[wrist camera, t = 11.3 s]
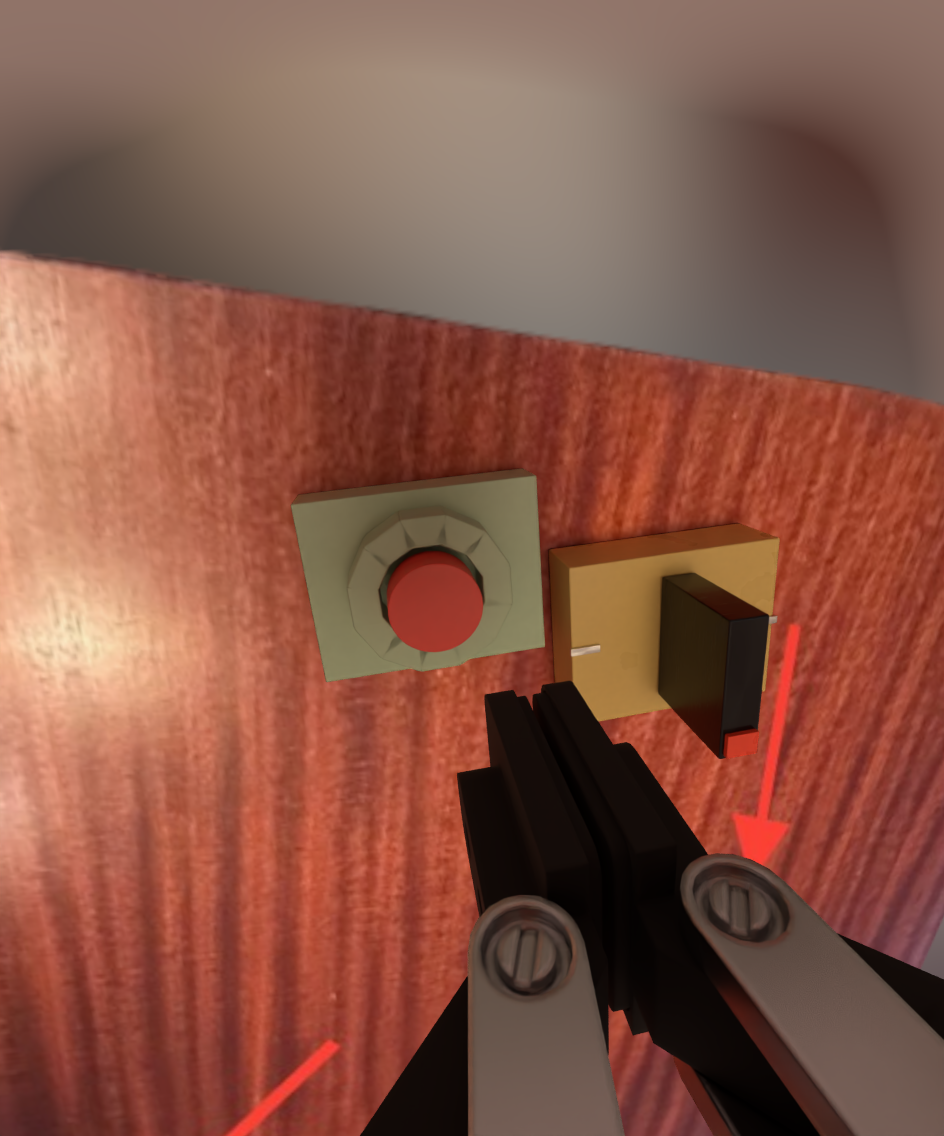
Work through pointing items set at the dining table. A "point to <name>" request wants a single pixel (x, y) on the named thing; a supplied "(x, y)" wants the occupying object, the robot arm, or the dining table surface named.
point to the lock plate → (643, 606)
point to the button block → (406, 527)
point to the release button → (433, 601)
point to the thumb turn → (712, 662)
